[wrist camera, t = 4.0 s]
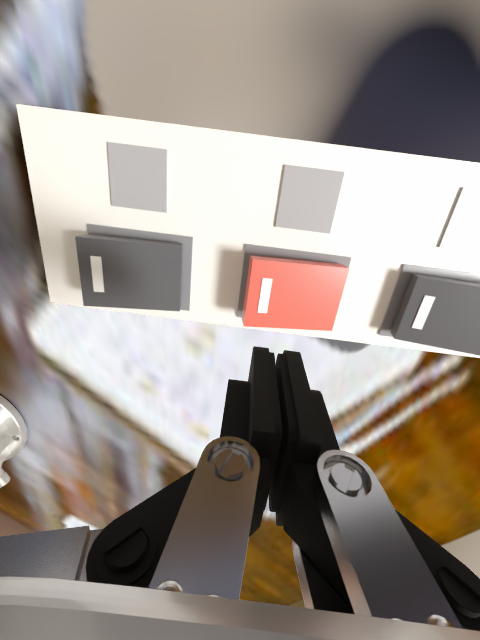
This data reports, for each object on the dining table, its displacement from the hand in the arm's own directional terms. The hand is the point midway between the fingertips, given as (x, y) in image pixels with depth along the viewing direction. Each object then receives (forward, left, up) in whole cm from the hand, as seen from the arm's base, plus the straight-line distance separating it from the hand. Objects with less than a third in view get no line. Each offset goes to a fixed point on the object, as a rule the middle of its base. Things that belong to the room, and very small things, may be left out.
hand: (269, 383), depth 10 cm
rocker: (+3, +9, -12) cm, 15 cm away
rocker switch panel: (0, -9, -17) cm, 19 cm away
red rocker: (-1, -2, -12) cm, 12 cm away
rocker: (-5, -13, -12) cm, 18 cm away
